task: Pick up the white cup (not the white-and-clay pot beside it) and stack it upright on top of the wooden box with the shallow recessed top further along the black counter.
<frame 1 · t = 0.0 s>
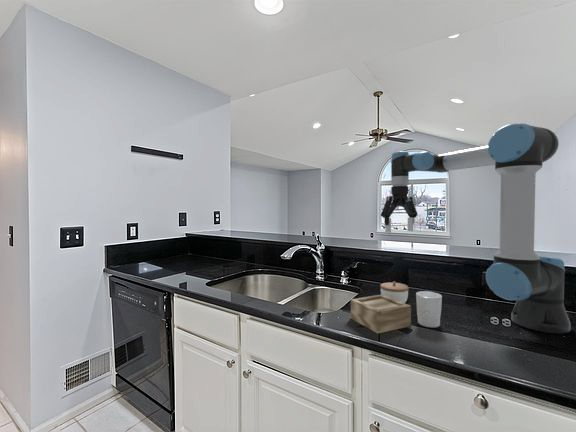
hand: (399, 231, 138), 28 cm above the worktop, fingers open, 13 cm apart
white cup: (428, 324, 101), on the worktop
wooden box: (379, 322, 102), on the worktop
lidded jar: (394, 305, 121), on the worktop
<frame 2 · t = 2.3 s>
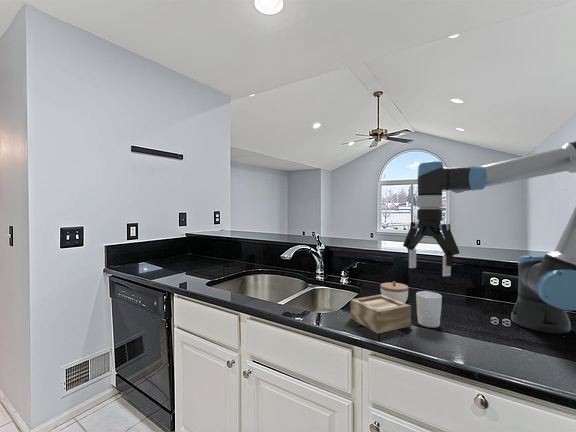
hand: (428, 271, 100), 18 cm above the worktop, fingers open, 13 cm apart
nothing on the worktop moved.
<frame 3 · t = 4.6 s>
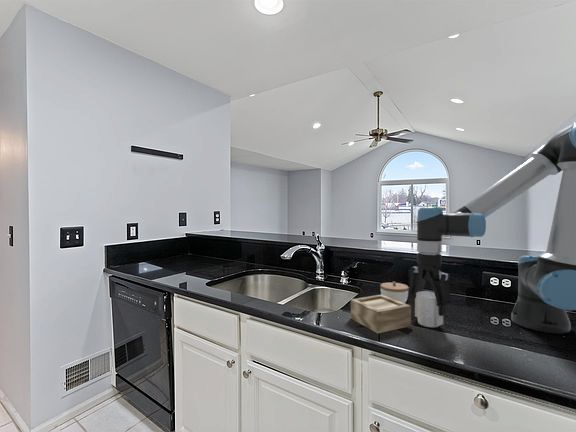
hand: (428, 320, 101), 1 cm above the worktop, fingers closed on white cup, 8 cm apart
white cup: (428, 324, 101), on the worktop, touching gripper
everything else where it was.
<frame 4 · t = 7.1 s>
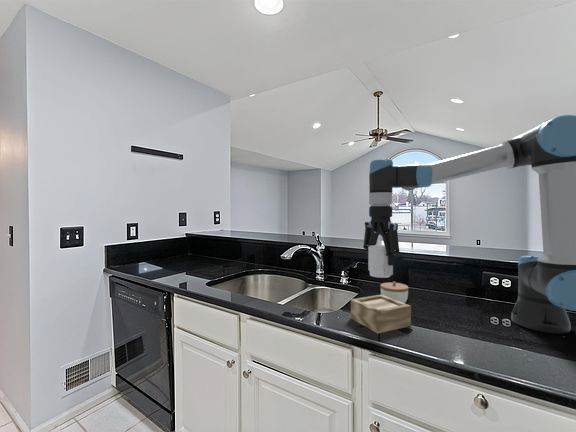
hand: (380, 272, 102), 17 cm above the worktop, fingers closed on white cup, 8 cm apart
white cup: (380, 276, 102), point 16 cm above the worktop, touching gripper
everything else where it was.
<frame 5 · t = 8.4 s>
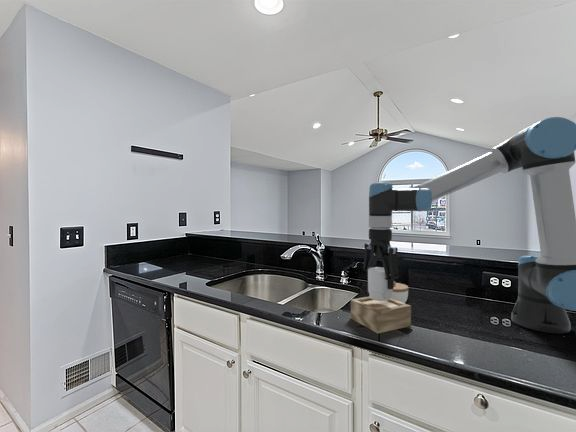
hand: (379, 294, 102), 9 cm above the worktop, fingers closed on white cup, 8 cm apart
white cup: (379, 298, 102), point 8 cm above the worktop, touching gripper
everything else where it was.
when the fingers open (8 cm above the worktop, at t = 9.5 s): white cup stays where it is, resting on wooden box.
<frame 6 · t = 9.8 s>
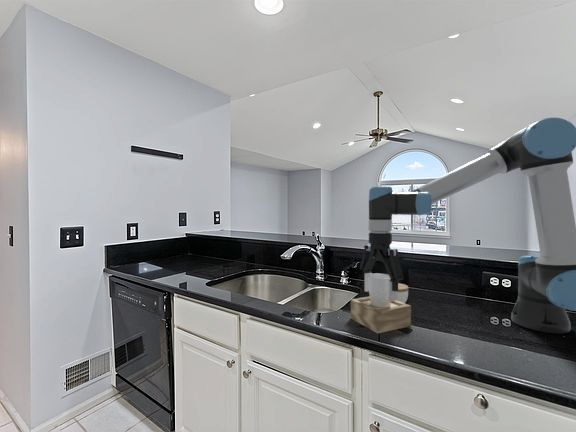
hand: (379, 295, 102), 9 cm above the worktop, fingers open, 11 cm apart
white cup: (380, 305, 102), point 6 cm above the worktop, touching wooden box
everything else where it was.
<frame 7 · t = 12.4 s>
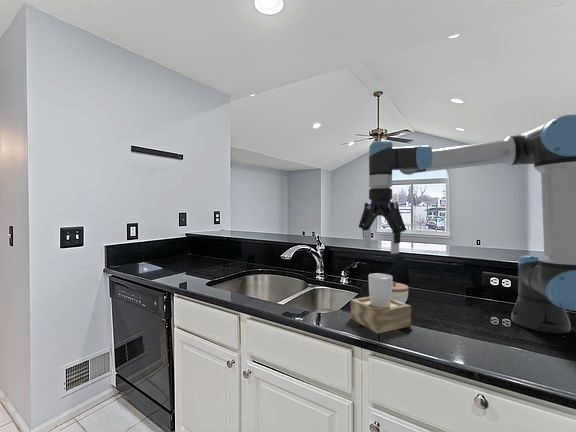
hand: (380, 250, 102), 25 cm above the worktop, fingers open, 13 cm apart
nothing on the worktop moved.
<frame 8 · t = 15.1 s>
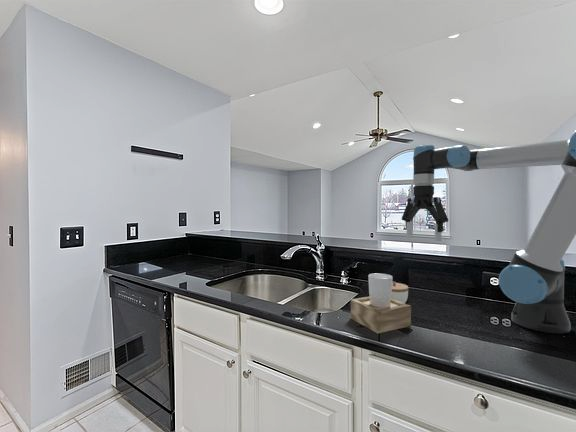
hand: (423, 239, 118), 27 cm above the worktop, fingers open, 13 cm apart
nothing on the worktop moved.
at the end: white cup inside the target area on the wooden box (0.2 cm from its centre), point 5.8 cm above the wooden box's base; white cup tilted 0°; the gripper is holding nothing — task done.
